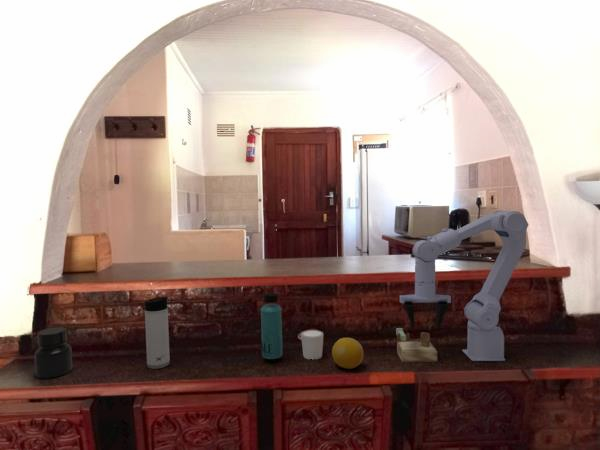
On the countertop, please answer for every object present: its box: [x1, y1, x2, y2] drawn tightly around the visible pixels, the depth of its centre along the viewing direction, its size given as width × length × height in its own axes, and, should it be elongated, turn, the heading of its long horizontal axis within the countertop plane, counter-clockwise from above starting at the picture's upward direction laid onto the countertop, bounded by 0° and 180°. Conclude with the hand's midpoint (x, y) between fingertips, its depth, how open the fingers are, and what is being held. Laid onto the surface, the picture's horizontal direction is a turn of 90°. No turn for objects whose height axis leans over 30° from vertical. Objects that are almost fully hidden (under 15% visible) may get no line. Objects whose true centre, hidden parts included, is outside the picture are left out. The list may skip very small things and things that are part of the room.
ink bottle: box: [34, 326, 73, 379], centre depth 112 cm, size 10×9×12 cm
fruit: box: [331, 337, 365, 370], centre depth 112 cm, size 9×8×8 cm
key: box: [395, 327, 406, 342], centre depth 125 cm, size 2×6×2 cm, turn 178°
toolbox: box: [396, 332, 438, 363], centre depth 119 cm, size 10×8×6 cm
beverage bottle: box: [260, 292, 284, 360], centre depth 118 cm, size 6×7×20 cm
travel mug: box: [144, 296, 171, 370], centre depth 116 cm, size 6×7×20 cm
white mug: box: [300, 329, 324, 361], centre depth 121 cm, size 7×7×7 cm
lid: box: [398, 331, 437, 352], centre depth 118 cm, size 9×6×4 cm
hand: (425, 326), depth 118 cm, fingers open, 7 cm apart
